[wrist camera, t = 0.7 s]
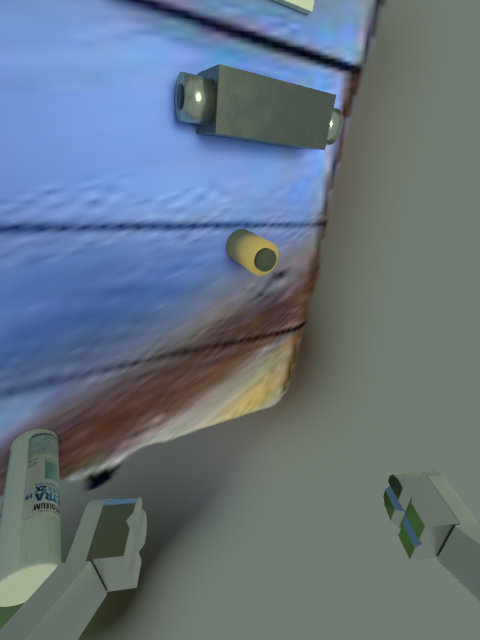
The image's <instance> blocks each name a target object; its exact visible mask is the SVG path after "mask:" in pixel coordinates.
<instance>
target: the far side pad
mask: <svg viewBox="0 0 480 640" xmlns="http://www.w3.org/2000/svg"><path fill="white" fill-rule="evenodd" d="M273 1H275V2H278V3H280V4H283V5H285V6H288V7H290V8H293V9H295V10H298V11H300V12H303V13H305V14H309V13H311V12H312V11H313V5H314V0H273Z"/></svg>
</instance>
